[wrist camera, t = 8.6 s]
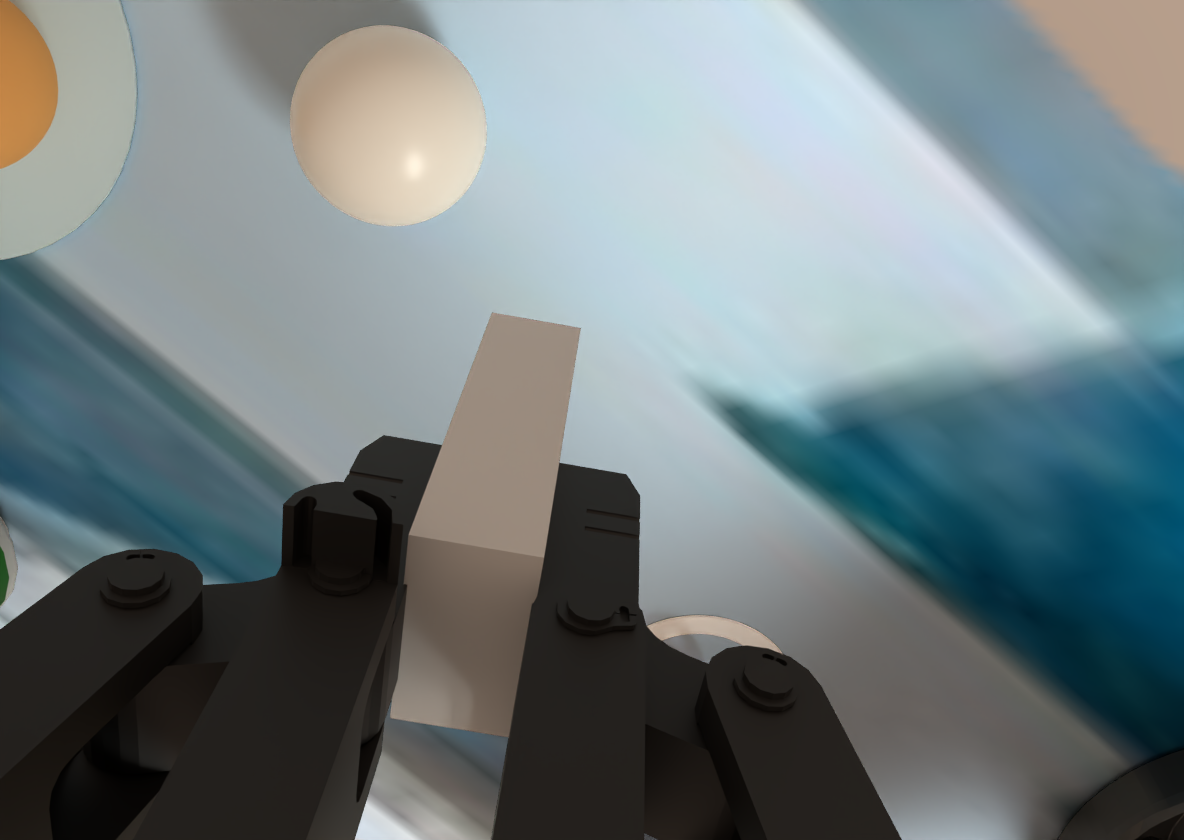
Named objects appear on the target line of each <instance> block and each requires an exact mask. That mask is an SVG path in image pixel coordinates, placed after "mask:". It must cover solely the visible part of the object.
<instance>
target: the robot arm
mask: <svg viewBox="0 0 1184 840" xmlns="http://www.w3.org/2000/svg"><path fill="white" fill-rule="evenodd" d="M580 329H581V328H577V327H571V326H565V325H560V324H554V323H548V322H543V321H537V320H531V319H526V318H520V317H514V316H509V315H503V314H497V313H492V314H491V317H490V319H489V322H488V325H487V327H486V330H485V333H484V335H483V338H482V341H481V343H480V346H479V349H478V351H477V354H476V357H475V359H474V362H473V365H472V367H471V370H470V373H469V375H468V378H467V381H466V383H465V386H464V389H463V391H462V394H461V397H460V399H459V402H458V405H457V407H456V410H455V412H454V415H453V418H452V420H451V423H450V426H449V428H448V431H447V434H446V436H445V439H444V442H443V444H442V445H438V444H432V443H426V442H420V441H414V440H409V439H403V438H397V437H391V436H385V435H383V436H382V437H380V438H379V439H377V440H376V441H374V442H373V443H371V444H370V445H368V446H366V447H365V448H363V449H362V450H360V452H359V454H358V456H357V458H356V460H355V462H354V464H353V466H352V467H351V469H350V473H349V475H347V477H346V479H345V481H344V482H331V483H325V484H318V485H313V486H310V487H308V488H306V489H303V490H301V491H299V492H296V493H295V494H294V495H293V496H291V497H290V498H289V499H288V500H287V501H286V502H285V503H284V504H283V529H282V563H281V567H280V569H279V571H278V573H277V575H276V576H273V577H270V578H266V579H262V580H259V581H253V582H244V583H233V584H213V585H203V576H202V574H201V572H200V571H199V570H198V568H197V567H196V565H195V564H194V563H193V562H192V561H190V560H188V559H186V558H184V557H182V556H181V555H179V554H177V553H172V552H167V551H162V550H157V549H139V550H126V551H122V552H118V553H115V554H111V555H107V556H103V557H102V558H100V559H98V560H96V561H94V562H92V563H90V564H89V565H87V566H85V567H83V568H82V569H80V570H79V571H78V572H76V573H75V574H74V575H72V576H71V577H70V578H68V579H67V580H66V581H64V582H63V583H62V584H60V585H59V586H58V587H56V588H55V589H54V590H52V591H51V592H50V593H48V594H47V595H46V596H44V597H43V598H42V599H40V600H39V601H38V602H36V603H35V604H34V605H32V606H31V607H30V608H28V609H27V610H26V611H24V612H23V613H22V614H20V615H19V616H18V617H16V618H15V619H14V620H12V621H11V622H10V623H8V624H7V625H6V626H4V627H3V628H2V629H0V840H354V839H355V836H356V833H357V830H358V826H359V823H360V820H361V817H362V813H363V810H364V807H365V804H366V800H367V797H368V794H369V791H370V788H371V784H372V781H373V778H374V775H375V771H376V768H377V765H378V762H379V758H380V755H381V751H382V741H383V731H384V721H385V718H386V715H387V711H388V708H389V705H390V702H391V699H392V705H391V715H390V718H393V719H399V720H405V721H411V722H417V723H424V724H430V725H436V726H442V727H448V728H454V729H460V730H467V731H473V732H479V733H485V734H491V735H497V736H503V737H509V738H508V744H507V750H506V755H505V761H504V767H503V772H502V778H501V783H500V789H499V795H498V800H497V806H496V812H495V819H494V825H493V831H492V836H491V840H644V833H645V834H648V835H650V836H652V837H654V838H656V839H658V840H902V839H901V838H900V836H899V834H898V832H897V830H896V828H895V826H894V824H893V822H892V820H891V818H890V817H889V815H888V813H887V811H886V809H885V807H884V805H883V803H882V801H881V799H880V798H879V796H878V794H877V792H876V790H875V788H874V786H873V784H872V782H871V780H870V778H869V777H868V775H867V773H866V771H865V769H864V767H863V765H862V763H861V761H860V759H859V757H858V756H857V754H856V752H855V750H854V748H853V746H852V744H851V742H850V740H849V738H848V737H847V735H846V733H845V731H844V729H843V727H842V725H841V723H840V721H839V719H838V717H837V716H836V714H835V712H834V710H833V708H832V706H831V704H830V702H829V700H828V698H827V696H826V695H825V693H824V691H823V689H822V687H821V686H820V684H819V683H818V682H817V680H816V679H815V678H814V677H813V675H812V674H811V673H810V671H809V670H807V669H806V668H805V667H803V666H802V665H800V664H799V663H798V662H796V661H795V660H793V659H792V658H791V657H789V656H786V655H784V654H781V653H779V652H776V651H774V650H771V649H769V648H762V647H755V646H748V645H745V646H739V647H732V648H726V649H725V650H723V651H722V652H720V653H718V654H717V655H715V656H713V657H712V659H711V661H710V663H709V664H707V663H705V662H702V661H700V660H697V659H695V658H692V657H690V656H687V655H685V654H683V653H681V652H679V651H677V650H675V649H673V648H671V647H669V646H668V645H667V644H665V643H664V642H663V641H661V640H660V639H659V638H657V637H656V636H655V635H654V634H653V633H652V631H651V630H650V629H649V628H648V627H647V626H646V623H645V620H644V616H643V612H642V610H641V609H640V608H639V604H638V596H639V535H640V522H639V519H640V495H639V493H638V492H637V490H636V489H635V487H634V486H633V484H632V482H631V481H630V479H629V478H628V476H627V475H626V474H621V473H615V472H609V471H604V470H598V469H592V468H586V467H580V466H575V465H569V464H563V463H559V461H560V454H561V448H562V442H563V436H564V429H565V423H566V417H567V411H568V404H569V398H570V392H571V385H572V379H573V373H574V367H575V360H576V354H577V348H578V342H579V335H580ZM1058 840H1184V750H1181V751H1178V752H1175V753H1172V754H1169V755H1167V756H1164V757H1161V758H1159V759H1156V760H1154V761H1152V762H1150V763H1147V764H1145V765H1143V766H1141V767H1139V768H1137V769H1135V770H1133V771H1131V772H1130V773H1128V774H1126V775H1124V776H1123V777H1121V778H1119V779H1118V780H1116V781H1115V782H1113V783H1112V784H1110V785H1109V786H1107V787H1106V788H1105V789H1103V790H1102V791H1100V792H1099V793H1098V794H1097V795H1096V796H1094V797H1093V798H1092V799H1091V800H1090V801H1089V802H1087V803H1086V804H1085V805H1084V806H1083V807H1082V808H1081V809H1080V810H1079V811H1078V813H1077V814H1076V815H1075V816H1074V817H1073V818H1072V820H1071V821H1070V822H1069V823H1068V825H1067V826H1066V828H1065V829H1064V831H1063V832H1062V834H1061V835H1060V837H1059V839H1058Z"/></svg>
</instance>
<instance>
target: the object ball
mask: <svg viewBox="0 0 1184 840" xmlns="http://www.w3.org/2000/svg"><path fill="white" fill-rule="evenodd" d="M57 103H58V81H57V73H56V69H55V64H54V61H53V58H52V56H51V53H50V50H49V48H48V47H47V45H46V43H45V41H44V39H43V37H42V36H41V34H40V33H39V31H38V30H37V28H36V27H35V26H34V25H33V23H32V22H31V21H30V20H29V19H28V18H27V16H26V15H25V14H24V13H23V12H22V11H21V10H20V9H19V8H17V7H16V6H15V5H14V4H13V3H12V2H10V1H9V0H0V169H2V168H5V167H7V166H9V165H11V164H13V163H15V162H17V161H19V160H20V159H22V158H23V157H25V156H26V155H28V154H29V153H30V152H31V151H32V150H33V149H34V148H35V147H36V146H37V145H38V144H39V143H40V141H41V140H42V139H43V138H44V136H45V135H46V133H47V131H48V129H49V128H50V126H51V123H52V121H53V118H54V116H55V112H56V108H57Z"/></svg>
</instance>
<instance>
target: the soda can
mask: <svg viewBox="0 0 1184 840" xmlns="http://www.w3.org/2000/svg"><path fill="white" fill-rule="evenodd" d="M17 570H18V565H17V561H16V556H15V551H14V546H13V542H12V540H11V538H10V536H9V532H8V528H7V526H6V524H5V523H4V521H3V519H2V517H1V516H0V608H1V606H2V605H3V604H4V602H5V601H6V600H7V598H8V597H9V596H10V595H11V593H12V592H13V590H14V585H15V580H16V575H17Z"/></svg>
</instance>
